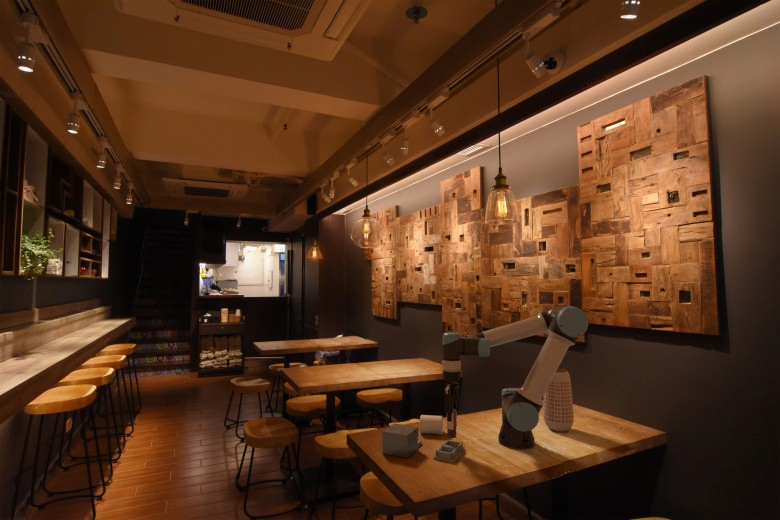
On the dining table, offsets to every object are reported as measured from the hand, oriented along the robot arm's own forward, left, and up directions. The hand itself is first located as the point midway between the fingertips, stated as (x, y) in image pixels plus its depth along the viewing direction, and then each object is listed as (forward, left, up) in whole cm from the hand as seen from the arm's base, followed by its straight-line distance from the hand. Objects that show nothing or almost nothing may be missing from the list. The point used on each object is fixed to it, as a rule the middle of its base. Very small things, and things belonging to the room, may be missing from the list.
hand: (451, 427), depth 175 cm
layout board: (+19, +2, -10) cm, 21 cm away
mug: (+16, -19, -10) cm, 26 cm away
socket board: (0, +3, -10) cm, 10 cm away
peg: (0, 0, -4) cm, 4 cm away
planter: (-37, -49, -10) cm, 62 cm away
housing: (+19, +10, -10) cm, 23 cm away
